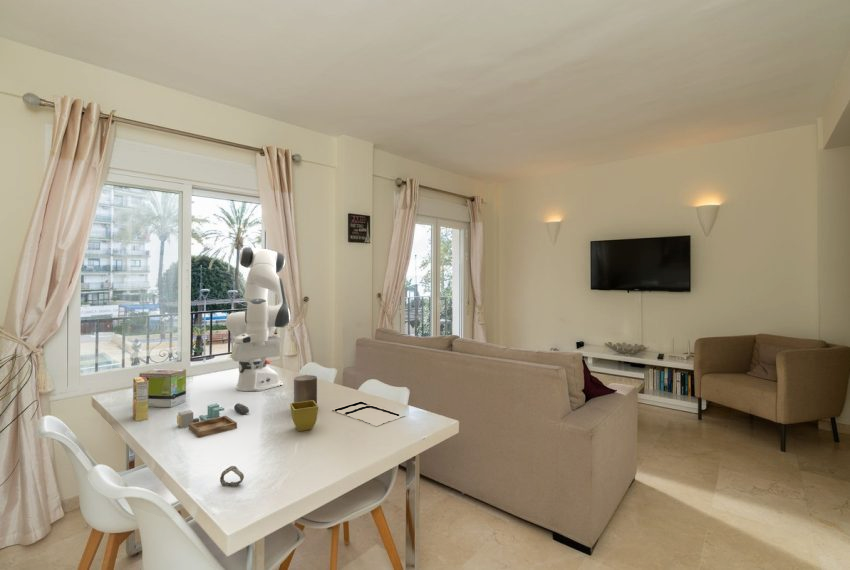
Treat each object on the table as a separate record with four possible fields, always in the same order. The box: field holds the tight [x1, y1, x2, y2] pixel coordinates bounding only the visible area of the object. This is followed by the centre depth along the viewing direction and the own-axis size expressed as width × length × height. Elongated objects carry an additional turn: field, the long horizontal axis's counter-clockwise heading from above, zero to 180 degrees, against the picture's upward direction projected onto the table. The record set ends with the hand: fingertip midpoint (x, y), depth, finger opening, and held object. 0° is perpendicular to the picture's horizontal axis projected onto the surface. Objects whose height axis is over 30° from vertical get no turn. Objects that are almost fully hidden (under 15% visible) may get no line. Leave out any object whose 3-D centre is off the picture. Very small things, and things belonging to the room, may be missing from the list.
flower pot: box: [289, 400, 319, 432], centre depth 150 cm, size 9×9×9 cm
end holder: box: [188, 415, 238, 438], centre depth 148 cm, size 13×11×2 cm
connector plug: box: [176, 409, 200, 429], centre depth 152 cm, size 7×4×5 cm, turn 136°
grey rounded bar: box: [233, 402, 249, 415], centre depth 167 cm, size 10×3×3 cm, turn 46°
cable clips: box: [198, 403, 225, 421], centre depth 159 cm, size 6×8×4 cm
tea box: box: [138, 368, 187, 408], centre depth 177 cm, size 15×10×15 cm
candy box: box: [132, 377, 149, 422], centre depth 159 cm, size 9×4×15 cm, turn 43°
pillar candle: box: [293, 374, 318, 405], centre depth 172 cm, size 10×10×15 cm
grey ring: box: [219, 465, 245, 488], centre depth 108 cm, size 4×6×5 cm, turn 85°
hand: (257, 368), depth 172 cm, fingers closed
